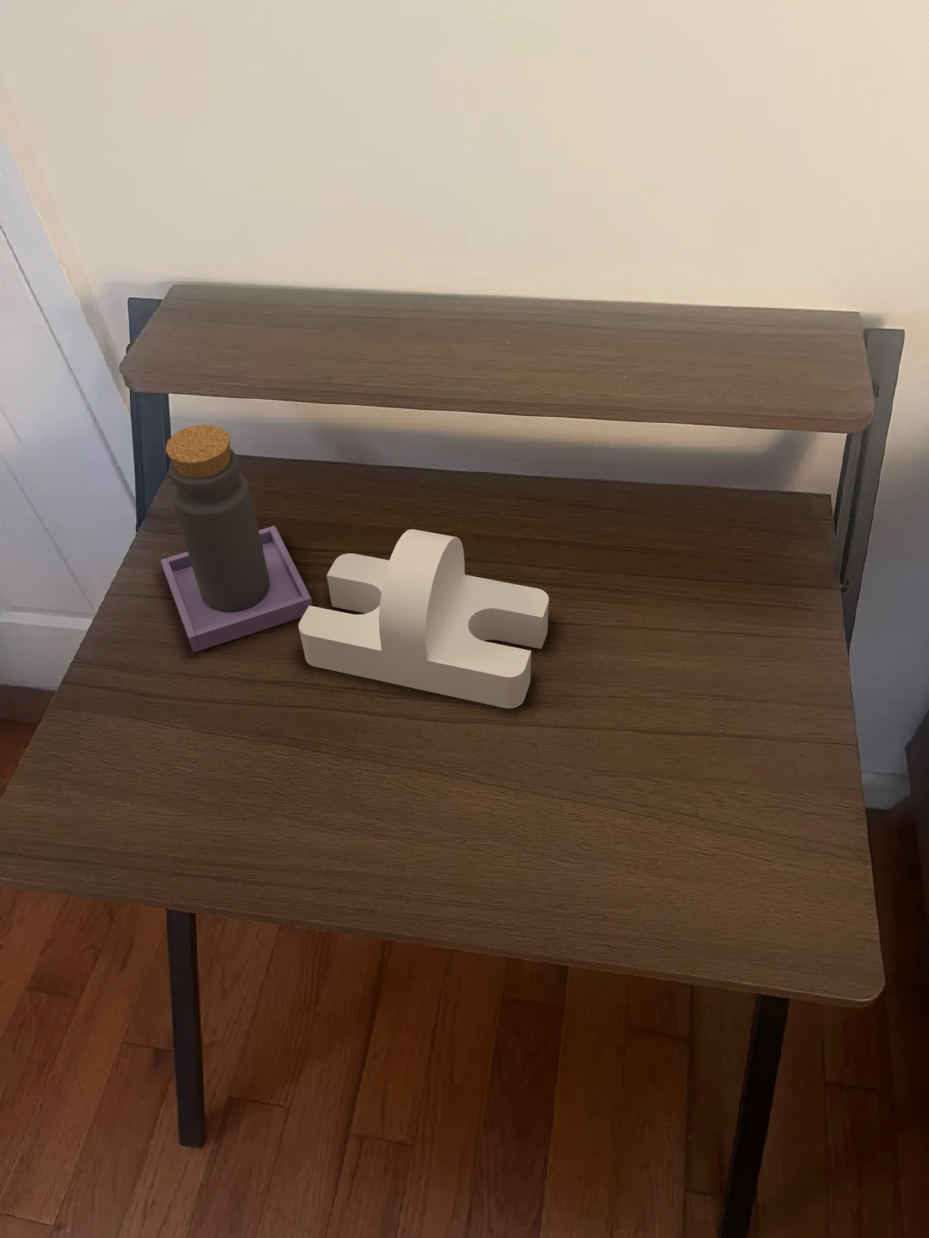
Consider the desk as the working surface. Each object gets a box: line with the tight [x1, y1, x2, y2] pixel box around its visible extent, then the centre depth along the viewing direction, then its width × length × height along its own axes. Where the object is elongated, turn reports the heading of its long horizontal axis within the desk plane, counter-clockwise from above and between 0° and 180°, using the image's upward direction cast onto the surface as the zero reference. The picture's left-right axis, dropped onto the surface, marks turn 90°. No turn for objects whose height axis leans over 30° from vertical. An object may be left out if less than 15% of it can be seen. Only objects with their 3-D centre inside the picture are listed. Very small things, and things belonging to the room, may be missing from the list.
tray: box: [160, 525, 314, 653], centre depth 85 cm, size 10×10×2 cm
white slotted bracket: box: [298, 528, 550, 710], centre depth 78 cm, size 10×18×10 cm, turn 73°
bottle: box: [165, 424, 270, 612], centre depth 80 cm, size 6×6×15 cm
